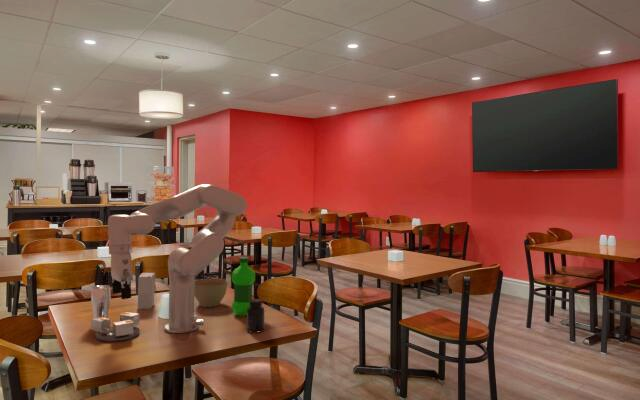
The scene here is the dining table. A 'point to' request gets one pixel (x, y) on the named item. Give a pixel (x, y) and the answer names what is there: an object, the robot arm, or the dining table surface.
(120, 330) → the knob
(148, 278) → the skincare box
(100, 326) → the white block
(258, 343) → the dining table surface
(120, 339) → the tribrach plate
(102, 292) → the beer glass
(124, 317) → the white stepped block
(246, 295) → the plastic bottle
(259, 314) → the supplement bottle
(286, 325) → the dining table surface
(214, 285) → the planter bowl
